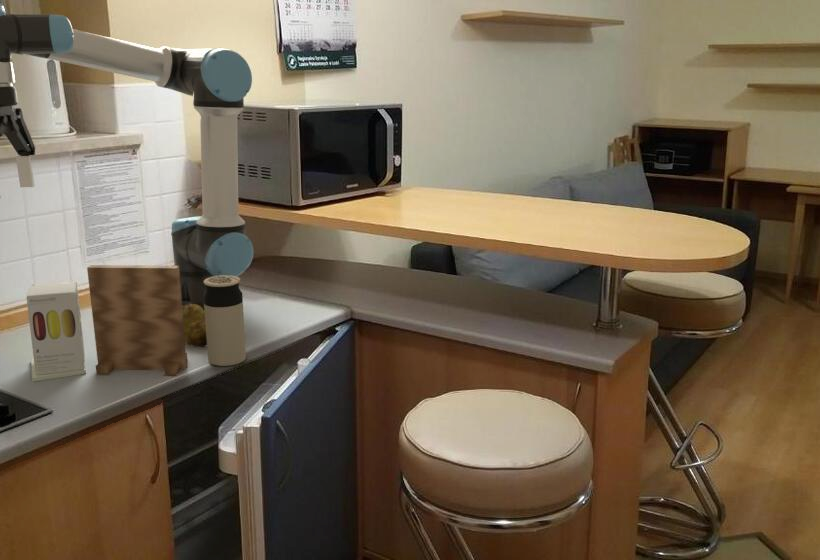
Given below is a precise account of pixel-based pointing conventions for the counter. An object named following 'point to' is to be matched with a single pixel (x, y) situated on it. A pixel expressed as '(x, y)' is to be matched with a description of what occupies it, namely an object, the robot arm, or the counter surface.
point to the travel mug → (224, 320)
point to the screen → (137, 318)
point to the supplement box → (55, 327)
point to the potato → (194, 325)
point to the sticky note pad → (54, 375)
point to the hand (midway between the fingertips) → (10, 192)
